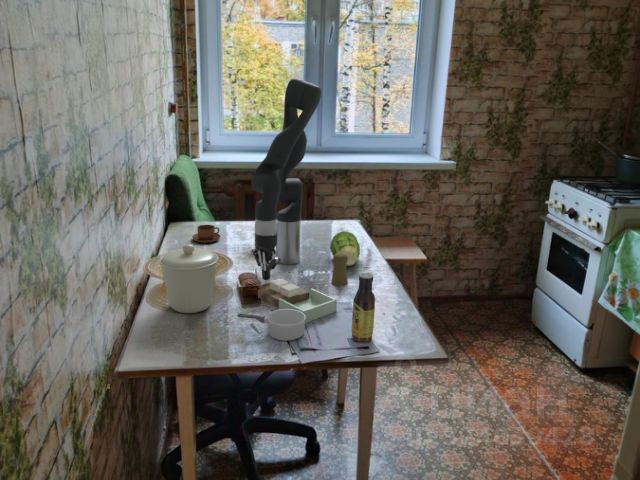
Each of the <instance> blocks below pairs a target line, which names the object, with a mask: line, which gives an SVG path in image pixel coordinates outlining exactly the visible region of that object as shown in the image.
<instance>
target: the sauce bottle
mask: <svg viewBox="0 0 640 480" xmlns="http://www.w3.org/2000/svg"><path fill="white" fill-rule="evenodd" d="M373 282H374V275H373V274H372V273H368V272H363V273H360V274H359V275H358V289H357V291H356V293H355V295H354V298H353V302H352V303H353V304H352V316H351V317H352V319H351V338H352V339H353V340H354V341H356V342H362V343H367V342H369V341H371V340H372V337H373V334H374V324H375V323H374V322H375V310H376V308H375V307H376V305H375V304H376V296H375V293H374V292H373Z"/></svg>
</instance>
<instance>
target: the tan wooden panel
mask: <svg viewBox="0 0 640 480" xmlns="http://www.w3.org/2000/svg"><path fill="white" fill-rule="evenodd" d="M289 284H290V282H289ZM260 285H261V289H259V290H258V299H259V298H260V300H262V301H263V302H266V303H268V304H269V305H270V306H273V307H274V308H277V310H279V299H282V300H284V301H286V302H288V303H290V304H295V303H298V302H301V301H304V300H307V299H310V291H308V290H306V289H304V288H301V287H300V291H299V295H296V296H292V297H287V296H284V295H282V294H280V292H276V291H274V290H272V289H270V282H266V283H263V284H260Z"/></svg>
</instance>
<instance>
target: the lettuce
mask: <svg viewBox="0 0 640 480" xmlns="http://www.w3.org/2000/svg"><path fill="white" fill-rule="evenodd" d="M329 246H330V247H329V248H330V252H331V253H332V257H334V255H335V254H337V253H344V254H346V255H347V257H348V261H347V263H346V267H350V266H352V265H355V264H356V263H357V261H358V260H359V258H360V256H361V255H360V254H361V253H360V252H361V248H360V247H361V246H360V244H359V241H358V238H357V236H356V235H354V234H353V233H352V232H349V231H339V232H337V233H336V234H335V235H334V236H333V237H332V239H331V241H330V244H329Z"/></svg>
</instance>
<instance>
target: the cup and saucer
mask: <svg viewBox="0 0 640 480" xmlns="http://www.w3.org/2000/svg"><path fill="white" fill-rule="evenodd" d="M216 230H217V232H216ZM191 238H192V239H193V240H194V241H195V242H198V243H207V244H208V243H213V242H216V241H218V240H220V238H221V234H220V228H219V227H217V226H215V225H212V224H201V225H198V226H197V233H195V234H193V235H192V236H191Z"/></svg>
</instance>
